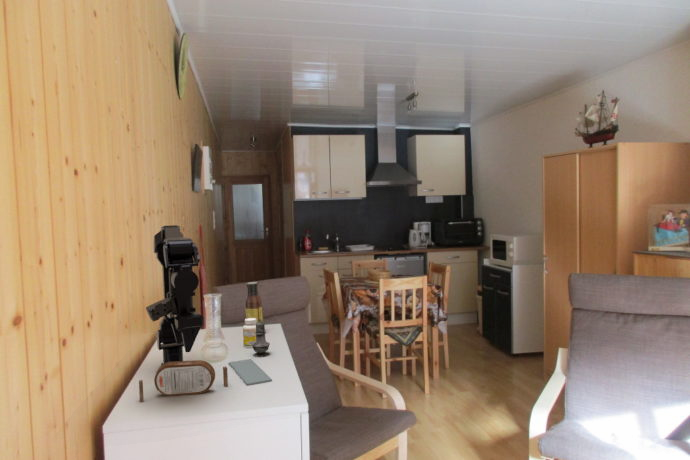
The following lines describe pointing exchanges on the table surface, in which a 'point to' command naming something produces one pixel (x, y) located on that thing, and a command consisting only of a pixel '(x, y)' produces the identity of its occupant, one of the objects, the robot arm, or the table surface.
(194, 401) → the table surface
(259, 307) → the sauce bottle
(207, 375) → the tin
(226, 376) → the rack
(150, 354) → the table surface
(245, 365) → the mat
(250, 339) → the supplement bottle
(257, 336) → the salt shaker
